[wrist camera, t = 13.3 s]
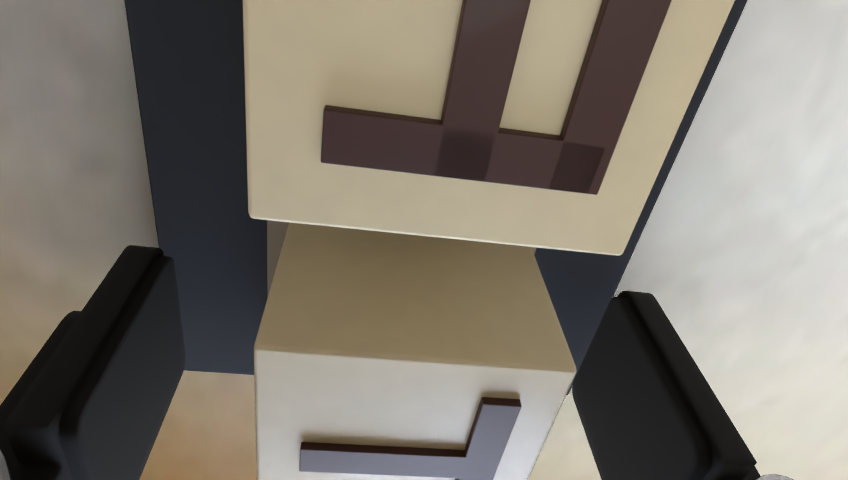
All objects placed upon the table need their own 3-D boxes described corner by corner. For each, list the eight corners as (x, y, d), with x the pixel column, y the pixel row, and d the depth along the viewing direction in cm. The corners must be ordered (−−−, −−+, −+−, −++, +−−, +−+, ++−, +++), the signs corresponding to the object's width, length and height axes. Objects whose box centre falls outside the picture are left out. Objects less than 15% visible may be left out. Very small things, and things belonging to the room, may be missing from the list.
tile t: (290, 362, 13) (255, 535, 10) (295, 197, 11) (250, 353, 7) (476, 375, 14) (505, 542, 10) (523, 221, 11) (582, 377, 8)
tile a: (296, 99, 10) (244, 227, 6) (305, -244, 7) (226, -352, 4) (546, 131, 10) (626, 265, 7) (639, -175, 8) (842, -208, 4)
